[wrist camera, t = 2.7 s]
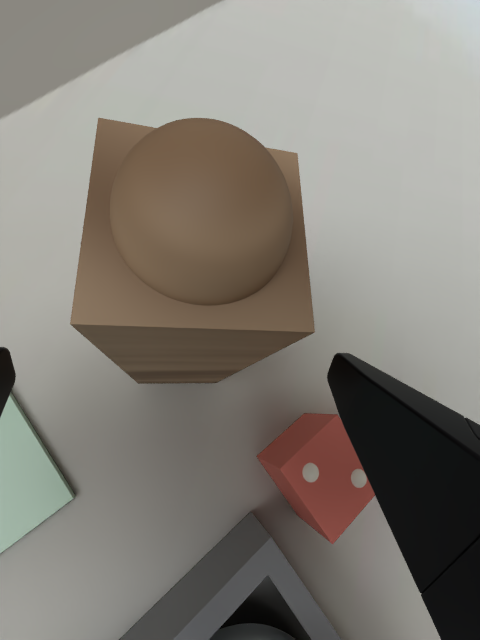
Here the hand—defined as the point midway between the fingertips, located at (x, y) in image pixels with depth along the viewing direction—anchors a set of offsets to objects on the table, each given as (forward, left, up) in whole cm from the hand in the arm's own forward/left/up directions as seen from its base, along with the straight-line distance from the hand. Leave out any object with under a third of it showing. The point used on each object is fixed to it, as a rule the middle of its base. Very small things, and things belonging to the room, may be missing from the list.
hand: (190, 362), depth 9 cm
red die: (-8, -3, -10) cm, 13 cm away
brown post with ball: (+2, -1, -10) cm, 10 cm away
